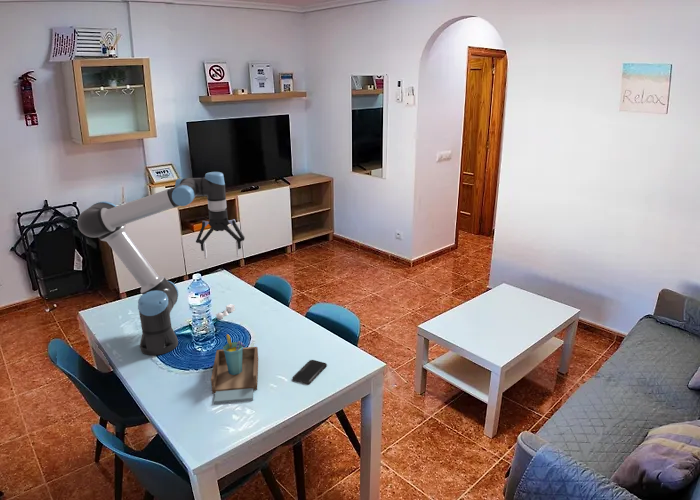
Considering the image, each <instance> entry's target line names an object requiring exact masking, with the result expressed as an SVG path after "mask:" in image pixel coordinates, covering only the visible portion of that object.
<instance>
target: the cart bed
mask: <svg viewBox="0 0 700 500" xmlns="http://www.w3.org/2000/svg"><path fill="white" fill-rule="evenodd" d="M210 377H211V378H210V383H211V391H212V394H215V393H216V391H226V390H237V389H249V388H253V390H254V391H256V390H258V377H259V351H258V346H249V347H247V346H246V347H243V350H242V372H241V373H240V374H237V375H231V374H229V372H228V367H227V362H226V357H225V353H224V350H223V348H222V349H216V352H215V357H214V362H213V366H212V372H211V376H210Z"/></svg>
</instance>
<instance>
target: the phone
mask: <svg viewBox="0 0 700 500" xmlns="http://www.w3.org/2000/svg"><path fill="white" fill-rule="evenodd" d="M327 366H328V364H327V363H326V362H322V361H319V360H315V359H309V360H308V361H307V362H306V363H305V364H304V365H303V366H302V367H301V368H300V369H299V370H298V371H297V372H296V373H295V374H294V375H293V376H292V377H291V378H292V381H293V382H294V381H295V382H297V383H300V384H303V385H310V384H312V383H313V382H314V380H315V379H316V378H317V377H319V376H320V374H321V373H322V372H323V371H324V370H325V369H326V368H327Z"/></svg>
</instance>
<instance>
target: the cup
mask: <svg viewBox="0 0 700 500" xmlns="http://www.w3.org/2000/svg"><path fill="white" fill-rule="evenodd" d="M226 341H227V343H226V344H225V345H224V346H223V347H222V349H223V350H224V353H225V357H226V362H227V367H228V372H229V374H231V375H237V374H240V373H241V372H242V350H243V348H246V344H245V343H243V342H242V341H240V340H239V341H233V342H232V340H231V336H230V334H226Z"/></svg>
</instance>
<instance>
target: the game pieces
mask: <svg viewBox="0 0 700 500" xmlns="http://www.w3.org/2000/svg"><path fill="white" fill-rule="evenodd" d="M235 307H236V305H235V304H231V303H229V304H227V305H226V306H225V309H224V311H223V313H222V312H218V313H216V314H215V317H216V319H217V320H220V319H221V320H222V319H223V318H224V317H227V316H229V313H233V312H235V311H236V308H235Z"/></svg>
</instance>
